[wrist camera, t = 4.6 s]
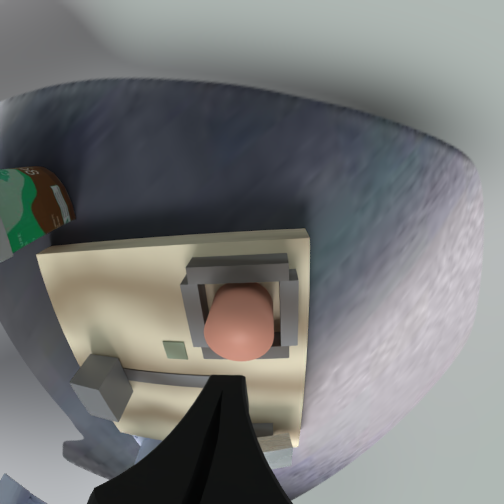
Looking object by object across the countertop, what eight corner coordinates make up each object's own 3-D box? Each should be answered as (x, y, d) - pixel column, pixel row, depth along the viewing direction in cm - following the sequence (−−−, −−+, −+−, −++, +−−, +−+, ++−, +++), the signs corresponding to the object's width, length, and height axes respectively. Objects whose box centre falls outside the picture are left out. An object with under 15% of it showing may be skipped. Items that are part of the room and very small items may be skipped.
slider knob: (133, 390, 20) (118, 422, 17) (106, 386, 21) (90, 414, 17) (118, 358, 19) (98, 390, 15) (90, 353, 19) (69, 382, 16)
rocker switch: (287, 452, 20) (291, 465, 19) (223, 460, 20) (224, 474, 18) (288, 432, 19) (292, 447, 18) (216, 441, 18) (217, 457, 17)
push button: (273, 329, 17) (274, 360, 14) (217, 330, 17) (209, 361, 14) (271, 278, 16) (272, 305, 13) (209, 280, 16) (198, 307, 13)
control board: (297, 432, 24) (298, 458, 21) (125, 419, 26) (116, 441, 23) (305, 228, 17) (314, 246, 14) (50, 246, 18) (24, 261, 15)
